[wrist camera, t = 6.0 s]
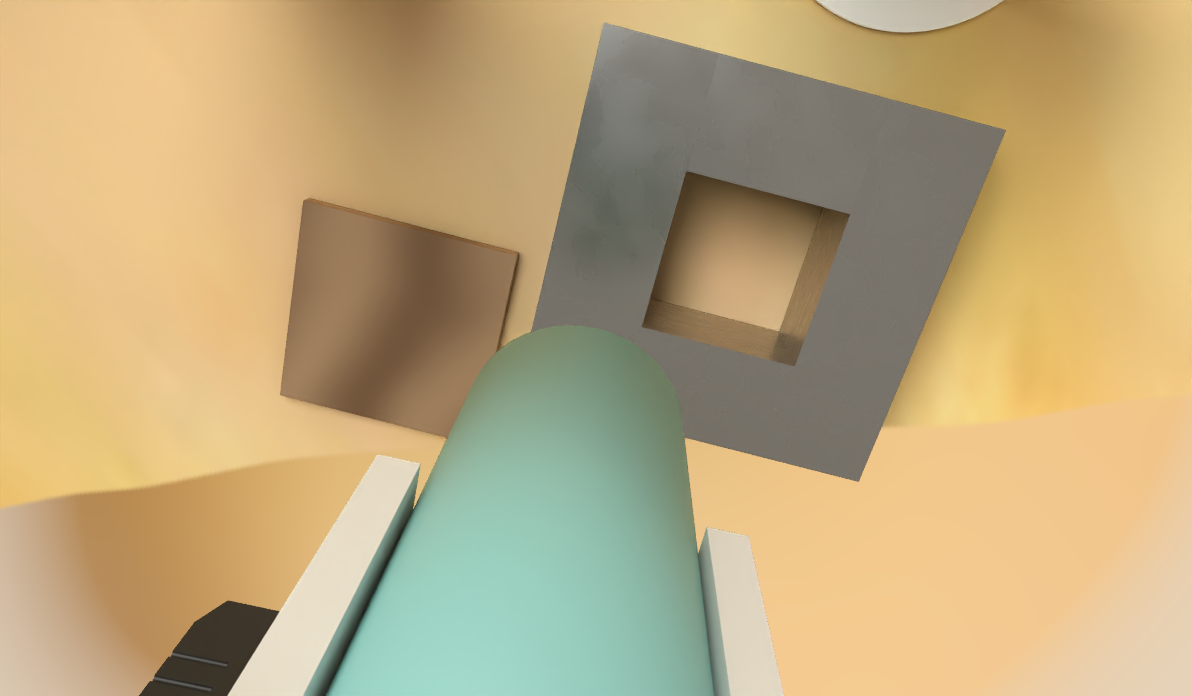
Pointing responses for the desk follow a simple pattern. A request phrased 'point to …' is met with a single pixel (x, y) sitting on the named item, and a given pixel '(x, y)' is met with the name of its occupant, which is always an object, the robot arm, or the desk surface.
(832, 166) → the housing
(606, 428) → the teal cylinder
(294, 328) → the pad
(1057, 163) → the desk surface
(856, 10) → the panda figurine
